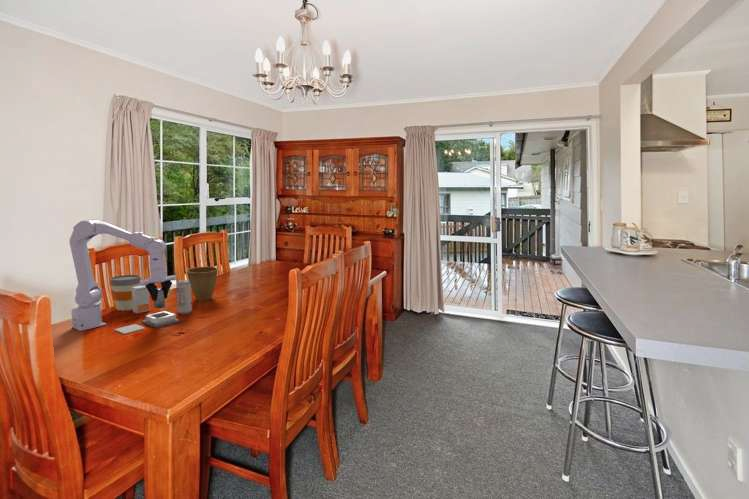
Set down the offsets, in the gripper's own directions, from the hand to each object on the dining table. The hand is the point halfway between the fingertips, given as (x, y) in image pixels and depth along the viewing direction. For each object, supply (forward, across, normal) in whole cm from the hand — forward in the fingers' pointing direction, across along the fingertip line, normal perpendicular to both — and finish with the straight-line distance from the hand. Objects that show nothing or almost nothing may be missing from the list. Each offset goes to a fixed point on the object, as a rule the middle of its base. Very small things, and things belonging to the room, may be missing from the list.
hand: (159, 299), depth 165 cm
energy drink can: (+10, +14, +5) cm, 18 cm away
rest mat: (+10, -12, +1) cm, 16 cm away
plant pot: (+10, +33, +19) cm, 39 cm away
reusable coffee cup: (+10, +2, +33) cm, 35 cm away
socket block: (+10, 0, 0) cm, 10 cm away
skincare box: (+10, +3, +22) cm, 25 cm away
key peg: (+3, 0, 0) cm, 3 cm away
